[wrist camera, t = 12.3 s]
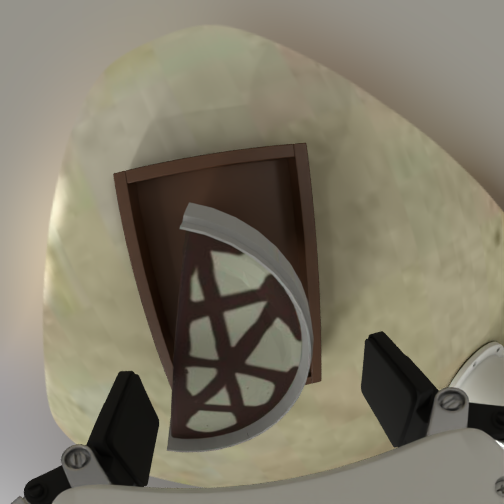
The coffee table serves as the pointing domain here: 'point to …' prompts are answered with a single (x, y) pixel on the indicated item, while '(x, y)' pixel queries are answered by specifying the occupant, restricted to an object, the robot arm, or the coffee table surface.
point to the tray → (225, 200)
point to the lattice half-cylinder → (234, 334)
